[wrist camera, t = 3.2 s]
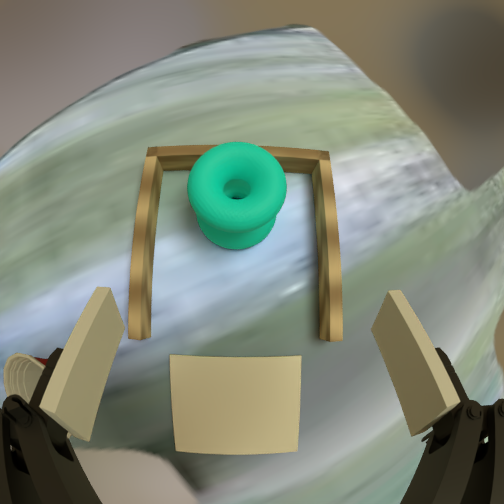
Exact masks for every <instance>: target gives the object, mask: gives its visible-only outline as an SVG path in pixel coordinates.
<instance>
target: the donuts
mask: <svg viewBox="0 0 504 504" xmlns="http://www.w3.org/2000/svg"><path fill="white" fill-rule="evenodd" d="M187 191H188V197H189V201H190V203H191V206H192V208H193V209H194V211H195V213H196V216H197V221H198V224H199V226H200V228H201V230H202V232H203V233H204V235H205V236H206V237H207V238H208V239H209V240H210V241H212V242H213V243H215V244H217V245H219V246H221V247H224V248H228V249H245V248H249V247H252V246H254V245H256V244H258V243H259V242H261V241H262V240H263V239H265V238H266V237H267V235H268V234H269V233H270V231H271V230H272V228H273V226H274V223H275V220H276V215H277V214H278V212H279V211H280V209H281V207H282V205H283V203H284V200H285V197H286V191H287V184H286V178H285V174H284V171H283V169H282V167H281V165H280V164H279V162H278V161H277V160H276V159H275V158H274V157H273V156H272V155H271V154H270V153H269V152H268V151H266V150H265V149H263V148H261V147H259V146H256V145H254V144H250V143H245V142H229V143H224V144H221V145H218V146H215V147H213V148H211V149H210V150H208V151H207V152H205V153H204V154H203V155H202V156H201V157H200V158H199V159H198V160H197V161H196V163H195V164H194V166H193V167H192V169H191V172H190V174H189V178H188V184H187ZM232 198H241V199H238V200H236V199H232Z"/></svg>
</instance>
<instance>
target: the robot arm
mask: <svg viewBox="0 0 504 504" xmlns="http://www.w3.org/2000/svg"><path fill="white" fill-rule="evenodd" d="M124 330H125V326H124V324H123V321H122V319H121V316H120V313H119V311H118V308H117V305H116V302H115V299H114V297H113V294H112V291H111V288H107V287H97V288H96V290H95V291H94V293H93V295H92V296H91V298H90V300H89V302H88V303H87V305H86V307H85V309H84V311H83V312H82V314H81V316H80V318H79V320H78V322H77V324H76V326H75V327H74V329H73V331H72V333H71V335H70V337H69V339H68V341H67V343H66V345H65V347H64V349H61V348H57V349H56V350H55V351H54V352H53V353H52V354H51V355H50V356H49V358H48V361H47V363H46V365H45V367H44V369H43V371H42V375H41V376H40V378H39V380H38V383H37V385H36V388H35V390H34V392H33V395H32V397H31V400H30V402H29V404H28V403H27V402H26V401H25V400H24V399H23V398H22V397H21V396H20V395H17V394H13V395H10V396H8V397H7V398H6V399H5V401H4V402H3V406H2V409H1V408H0V504H102V502H101V501H100V499H99V498H98V496H97V494H96V493H95V491H94V489H93V487H92V486H91V484H90V482H89V480H88V478H87V476H86V474H85V473H84V471H83V469H82V467H81V465H80V463H79V460H78V458H77V456H76V454H75V452H74V450H73V447H72V445H71V443H70V440H69V439H68V437H67V433H68V432H69V433H70V434H72V435H73V436H74V437H76V438H79V439H82V440H85V441H88V442H89V441H90V437H91V433H92V429H93V425H94V422H95V418H96V414H97V411H98V407H99V404H100V400H101V397H102V394H103V390H104V387H105V384H106V381H107V378H108V375H109V372H110V369H111V366H112V363H113V360H114V357H115V354H116V351H117V349H118V346H119V343H120V340H121V338H122V335H123V332H124ZM371 331H372V333H373V335H374V338H375V340H376V342H377V345H378V347H379V349H380V352H381V354H382V357H383V359H384V362H385V364H386V367H387V369H388V372H389V374H390V377H391V380H392V382H393V385H394V387H395V390H396V393H397V396H398V398H399V401H400V404H401V407H402V410H403V413H404V416H405V419H406V422H407V425H408V428H409V431H410V434H411V437H412V436H415V435H417V434H420V433H423V432H425V431H426V430H428V429H429V428H430V427H431V426H432V427H433V431H431V432H430V433H429V434H427V435H426V436H425V437H423V439H422V442H423V441H425V440H426V439H428V438H429V439H428V441H427V442H426V443H427V445H426V447H425V450H424V453H423V455H422V458H421V460H420V463H419V465H418V468H417V470H416V472H415V474H414V477H413V479H412V481H411V483H410V485H409V487H408V489H407V491H406V493H405V495H404V497H403V499H402V501H401V503H400V504H504V399H498V400H497V401H496V402H495V403H494V404H493V405H486V406H481V405H480V404H479V403H478V402H476V401H474V400H469V398H468V397H467V395H466V393H465V390H464V388H463V386H462V384H461V382H460V380H459V378H458V376H457V374H456V373H455V370H454V368H453V366H451V362H450V360H449V358H448V356H447V355H446V354H445V353H444V352H443V351H442V350H441V349H440V348H434V346H433V344H432V343H431V341H430V339H429V337H428V335H427V334H426V332H425V330H424V328H423V327H422V325H421V323H420V321H419V320H418V318H417V316H416V315H415V313H414V311H413V310H412V308H411V306H410V305H409V303H408V301H407V300H406V298H405V297H404V295H403V294H402V292H401V290H391V291H388V292H387V294H386V297H385V299H384V302H383V304H382V306H381V308H380V311H379V313H378V315H377V317H376V320H375V322H374V324H373V326H372V328H371ZM487 436H488V442H487V443H484V439H485V438H486V437H487ZM10 445H11V446H12V450H11V449H10Z"/></svg>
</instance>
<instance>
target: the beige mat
mask: <svg viewBox="0 0 504 504" xmlns="http://www.w3.org/2000/svg"><path fill="white" fill-rule="evenodd" d="M170 379H171V399H172V414H173V426H174V437H175V447H176V451H181V452H192V453H206V454H269V453H283V452H293V451H297V448H298V433H299V414H300V388H301V355H296V356H272V357H215V356H191V355H175V354H170Z"/></svg>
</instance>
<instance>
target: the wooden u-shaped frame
mask: <svg viewBox="0 0 504 504" xmlns="http://www.w3.org/2000/svg"><path fill="white" fill-rule="evenodd" d="M215 146H218V145H185V146H163V147H148V150H147V155H146V160H145V165H144V170H143V175H142V181H141V186H140V192H139V199H138V205H137V212H136V220H135V228H134V236H133V246H132V256H131V269H130V285H129V312H128V339H136V340H142V339H146V338H149V337H151V297H152V275H153V259H154V246H155V235H156V224H157V215H158V207H159V199H160V191H161V184H162V177H163V171H174V170H191V169H192V167H193V166H194V164H195V163H196V161H197V160H198V159H199V158H200V157H201V156H202V155H203V154H204V153H205V152H207V151H208V150H210V149H211V148H213V147H215ZM259 147H261V148H263V149H265V150H266V151H268V152H269V153H270V154H271V155H272V156H273V157H274V158H275V159H276V160H277V161H278V162H279V164H280V165H281V167H282V169H283V171H284V172H293V173H307V174H312V182H313V193H314V205H315V218H316V232H317V250H318V272H319V314H320V339H322V340H326V341H329V342H334V341H342V335H343V321H342V280H341V261H340V246H339V233H338V222H337V211H336V202H335V193H334V185H333V178H332V170H331V163H330V157H329V151H320V150H310V149H299V148H287V147H271V146H259Z"/></svg>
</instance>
